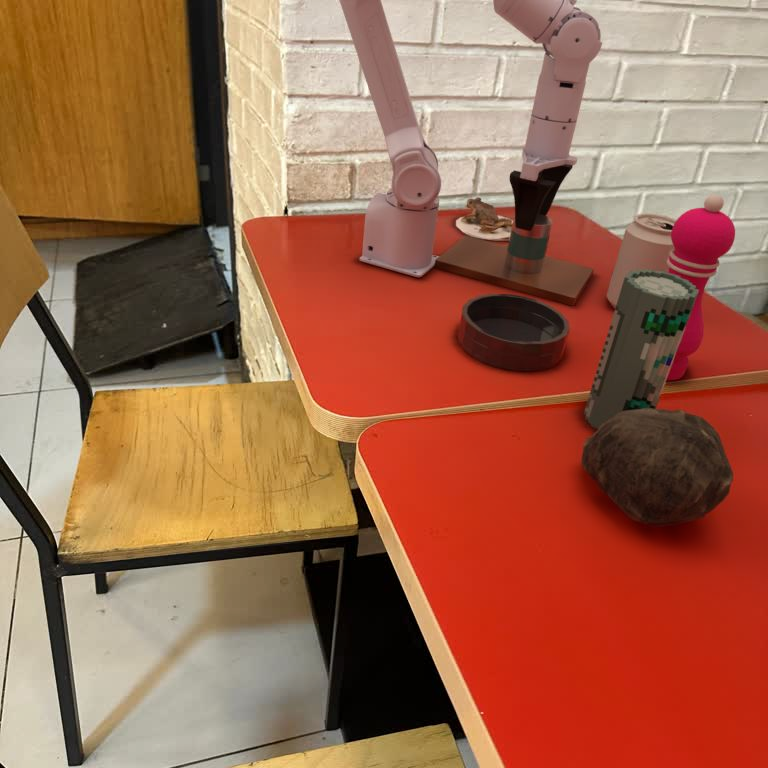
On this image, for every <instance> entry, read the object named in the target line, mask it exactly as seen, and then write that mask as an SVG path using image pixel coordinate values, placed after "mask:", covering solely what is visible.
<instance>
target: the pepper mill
mask: <svg viewBox="0 0 768 768" xmlns="http://www.w3.org/2000/svg"><path fill="white" fill-rule="evenodd" d="M724 203H725V202H724V199H723V197H722V196H721V195H719V194H710V195H708V196H707V197H706V198H705V200H704V202H703V206H704V207H695V208H691V209H689V210H687V211H685V212H683V213H682V214H681V215H679V217H678V218H677V219H676V220H677V221H676V222H675V224H674V226H673V228H672V232H671V240H672V243H673V245H674V247H675V249H672V250H671V251H670V253H669V255H670V256H669V258H668V259H667V265H668V266H669V272H668V273H670V274H674V275H677V276H681V277H680V278H682V279H686V280H689V282H690V283H693V284H692V285H695V286H696V288H695V289H697V290H699V293H698V295H697V298H696V301H695V303H694V306H693V309H692V312H691V314H690V317H689V320H688V322H687V325H686V328H685V331H684V333H683V336H682V339H681V341H680V344H679V347H678V350H677V352H676V355H675V358H674V360H673V363H672V366H671V369H670V371H669V374H668V377H667V379H666V381H676V380H680V379H681V378H682V377H683V376H684V375H685V374H686V370H687V368H688V365H689V357H690V356H691V355H693V354H694V353H696V352H697V351H698V349H699V348H700V347H701V345H702V341H703V339H704V338H703V337H704V329H705V328H704V327H705V325H704V317H703V307H702V302H703V296H704V292H705V288H706V286H707V284H708V282H709V280H710V278H712V277H714V276H716V274H717V269H718V267H719V266H720V263H721V262H720V260H719V259H720V258H721V257H722V256H724V255H726V254H727V253H728V252H729V251H730V250H731V248H732V247H733V245H734V243H735V239H736V228H735V224H734V221H732V219H731V218H730V217H729V216H728V215H727V214H725V213H724V212H722V211H721V210H722V208H723V206H724ZM688 356H689V357H688Z"/></svg>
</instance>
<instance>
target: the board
mask: <svg viewBox="0 0 768 768" xmlns="http://www.w3.org/2000/svg"><path fill="white" fill-rule="evenodd" d="M507 248H508V245H503V244H500V243H496V242H492V241H489V240H486V239H480V238H474V237H471V236H469V235H464V236H462V237H461V238H460V239H459V240H458V241H456V242H455V243H454V244H453V245H451V247H449V248H448V249H447V250H445V251H444V252H443V253H441V255H438V256H439V257H438V258H437V259H436V260H435V265H434V267H433V268H434V269H437V270H442V271H445V272H449V273H452V274H455V275H460V276H462V277H466V278H470V279H474V280H477V281H481V282H485V283H488V284H491V285H494V286H495V285H496V286H500V287H503V288H506V289H509V290H514V291H517V292H521V293H525V294H528V295H532V296H534V297H538V298H542V299H546V300H550V301H553V302H557V303H561V304H564V305H568V306H571V307H574V305H575V304H576V302H577V301H578V299H579V298H580V296H581V294H582V293H583V292H584V290H585V288H586V286H587V285H588V283H589V282H590V280H591V279H592V277H593V274H594V271H595V268H593V267H590V266H586V265H582V264H578V263H573V262H570V261H566V260H562V259H558V258H554V257H551V256H546V255H545V257H544V261H543V265H542V270H541V271H540V272H538V273H521V272H517V271H514V270H511V269H510V268H508V267H507V266H506V265H505V260H506V255H507Z"/></svg>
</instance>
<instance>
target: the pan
mask: <svg viewBox="0 0 768 768" xmlns="http://www.w3.org/2000/svg"><path fill="white" fill-rule="evenodd" d="M570 331H571V327H570V322H569V320H568V319H567V318H566V317H565V315H564V314H563V313H562V312H561V311H559V310H558V309H557V308H555V307H553V306H552V305H550V304H547V303H545V302H543V301H541V300H538V299H535V298H532V297H531V298H530V297H527V296H524V295H516V294H511V293H488V294H481V295H478V296H475V297H472V298H470V299H468V300H467V301H466V302H465V303H464V304H463V306H462V308H461V313H460V321H459V327H458V333H457V340H458V343H459V345H460V347H461V348H462V350H464V352H465V353H467V354H468V355H469V356H471V357H472V358H473V359H475V360H478V361H479V362H481V363H484V364H486V365H488V366H491V367H494V368H498V369H501V370H508V371H514V372H537V371H543V370H547V369H549V368H552V367H554V366H555V365H557V364H559V362H560V361H561V359H562V357H563V354H564V353H565V349H566V346H567V342H568V338H569V335H570Z"/></svg>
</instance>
